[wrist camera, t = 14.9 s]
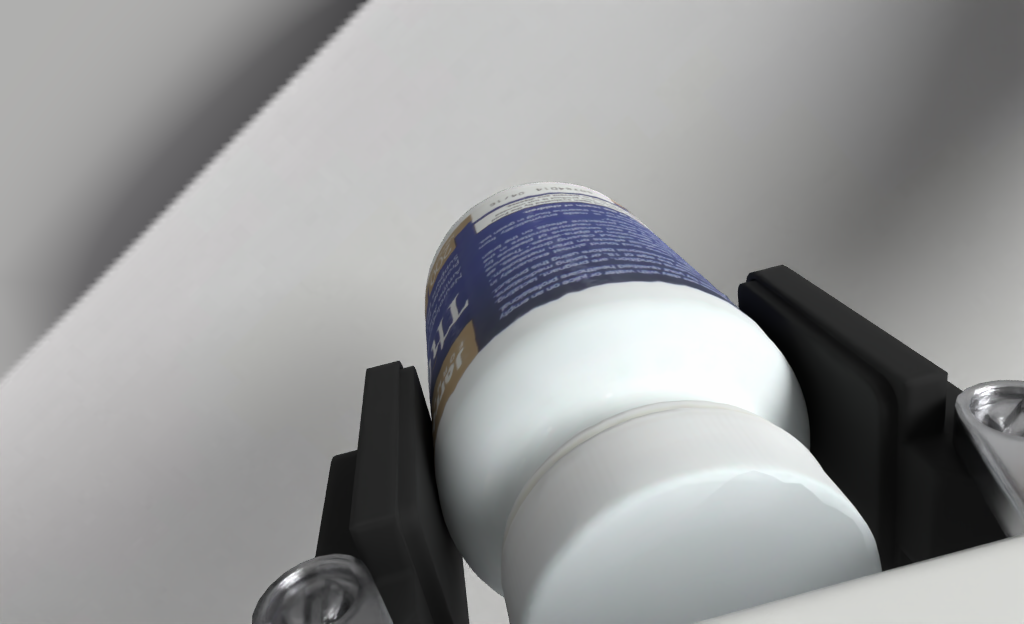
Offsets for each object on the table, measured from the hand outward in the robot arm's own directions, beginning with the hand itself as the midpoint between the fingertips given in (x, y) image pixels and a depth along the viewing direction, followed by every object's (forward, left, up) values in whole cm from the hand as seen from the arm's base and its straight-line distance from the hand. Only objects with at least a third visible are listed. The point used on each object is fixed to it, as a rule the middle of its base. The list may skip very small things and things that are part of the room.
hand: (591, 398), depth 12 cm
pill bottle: (0, 0, -5) cm, 5 cm away
